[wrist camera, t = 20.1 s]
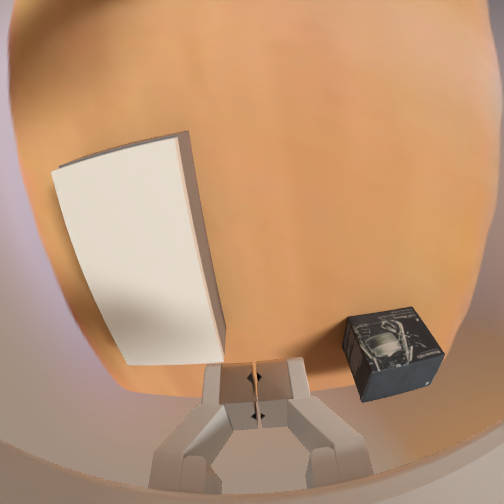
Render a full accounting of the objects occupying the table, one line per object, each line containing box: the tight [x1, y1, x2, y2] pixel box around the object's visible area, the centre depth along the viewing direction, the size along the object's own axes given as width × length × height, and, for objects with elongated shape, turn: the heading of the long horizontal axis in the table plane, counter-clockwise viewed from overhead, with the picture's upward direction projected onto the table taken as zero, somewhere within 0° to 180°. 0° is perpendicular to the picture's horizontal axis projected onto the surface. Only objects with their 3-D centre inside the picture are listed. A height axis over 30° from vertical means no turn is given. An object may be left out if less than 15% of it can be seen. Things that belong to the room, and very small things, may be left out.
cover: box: [51, 137, 224, 365], centre depth 26 cm, size 24×12×1 cm, turn 6°
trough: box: [59, 131, 226, 353], centre depth 29 cm, size 24×13×5 cm, turn 6°
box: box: [342, 307, 445, 403], centre depth 33 cm, size 11×7×10 cm, turn 95°
